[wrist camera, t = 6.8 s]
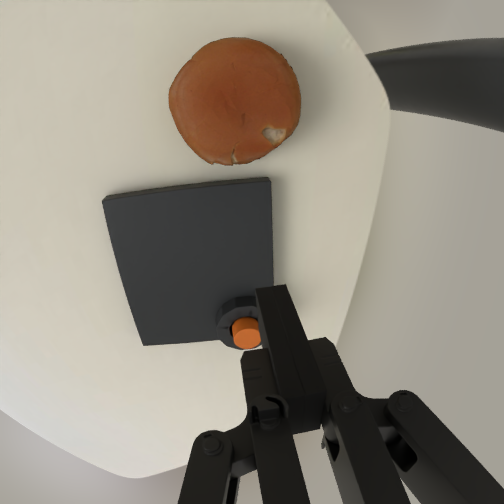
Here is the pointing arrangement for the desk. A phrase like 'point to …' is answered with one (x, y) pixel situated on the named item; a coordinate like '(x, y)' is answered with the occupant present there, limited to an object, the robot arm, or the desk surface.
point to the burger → (235, 101)
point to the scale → (193, 257)
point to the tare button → (246, 332)
